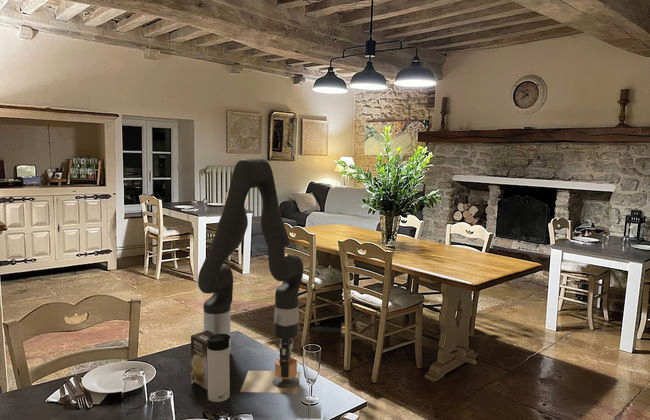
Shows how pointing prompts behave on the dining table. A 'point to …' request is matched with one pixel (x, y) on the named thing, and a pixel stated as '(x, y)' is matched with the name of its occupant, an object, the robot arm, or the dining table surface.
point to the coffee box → (199, 358)
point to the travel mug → (218, 367)
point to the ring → (291, 368)
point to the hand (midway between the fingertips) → (285, 371)
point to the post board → (269, 383)
